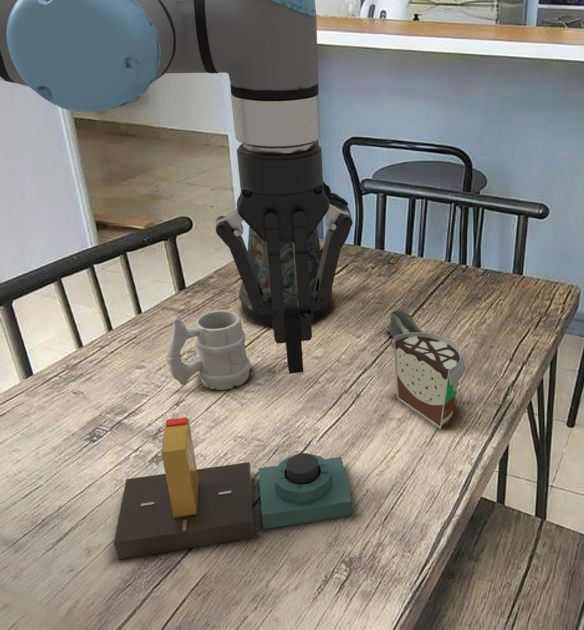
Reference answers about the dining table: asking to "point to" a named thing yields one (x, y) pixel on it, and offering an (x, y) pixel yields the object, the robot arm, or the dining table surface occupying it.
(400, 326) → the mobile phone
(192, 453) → the lock knob
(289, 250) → the beer stein
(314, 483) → the push button box
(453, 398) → the food container
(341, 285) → the dining table surface
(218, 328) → the mug
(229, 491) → the lock plate
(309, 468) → the bell button
